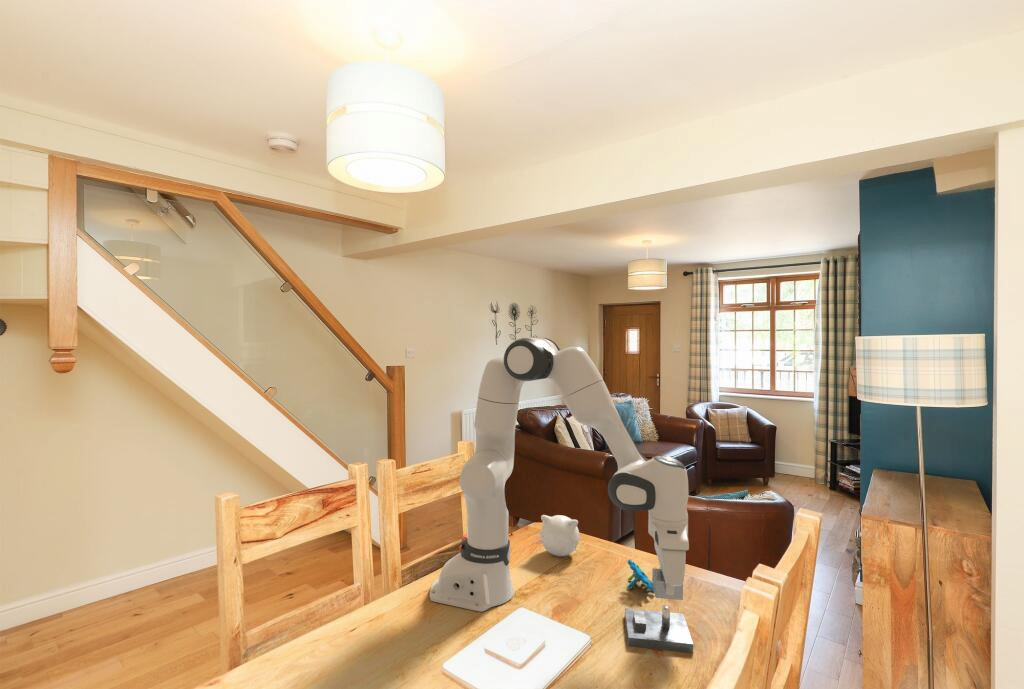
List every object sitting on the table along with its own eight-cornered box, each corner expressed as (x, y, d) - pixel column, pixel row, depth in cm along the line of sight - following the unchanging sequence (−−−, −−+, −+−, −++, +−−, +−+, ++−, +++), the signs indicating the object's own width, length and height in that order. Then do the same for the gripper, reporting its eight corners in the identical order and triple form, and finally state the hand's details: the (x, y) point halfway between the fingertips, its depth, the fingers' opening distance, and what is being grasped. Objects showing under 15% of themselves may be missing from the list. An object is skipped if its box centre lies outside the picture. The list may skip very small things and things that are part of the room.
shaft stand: (628, 646, 113) (628, 617, 113) (624, 616, 125) (625, 590, 125) (693, 652, 111) (693, 624, 111) (683, 621, 123) (683, 595, 123)
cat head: (587, 549, 163) (588, 512, 163) (578, 567, 151) (578, 527, 150) (543, 542, 168) (544, 506, 168) (530, 558, 156) (531, 519, 156)
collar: (655, 597, 115) (655, 580, 115) (652, 584, 121) (652, 568, 121) (682, 600, 114) (683, 582, 114) (678, 586, 120) (678, 570, 120)
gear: (660, 594, 133) (633, 564, 135) (644, 609, 133) (617, 579, 135) (653, 579, 144) (628, 552, 145) (638, 593, 144) (613, 566, 146)
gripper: (648, 510, 128) (648, 564, 128) (660, 544, 108) (659, 607, 108) (674, 511, 127) (673, 565, 127) (690, 546, 107) (689, 610, 107)
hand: (667, 585), depth 118 cm, fingers closed on collar, 6 cm apart
